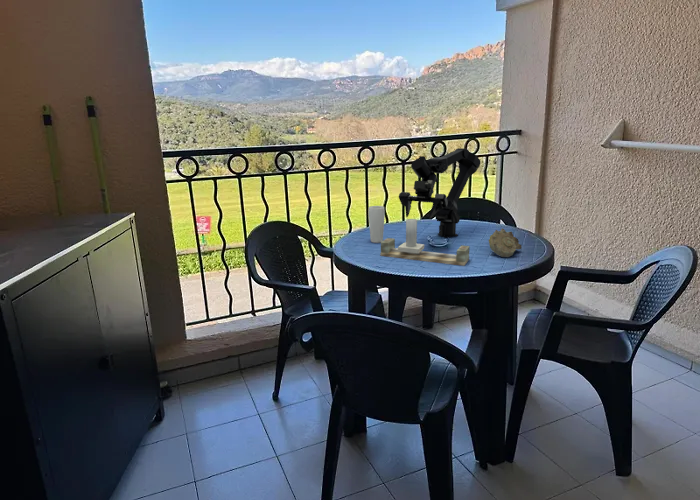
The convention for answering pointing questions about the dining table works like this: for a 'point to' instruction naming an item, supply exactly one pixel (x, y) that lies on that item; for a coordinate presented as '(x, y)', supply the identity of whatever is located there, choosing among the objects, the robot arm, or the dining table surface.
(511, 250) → the seashell
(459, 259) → the wooden slide rail
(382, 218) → the drinking glass
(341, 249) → the dining table surface
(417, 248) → the carriage
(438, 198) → the robot arm
